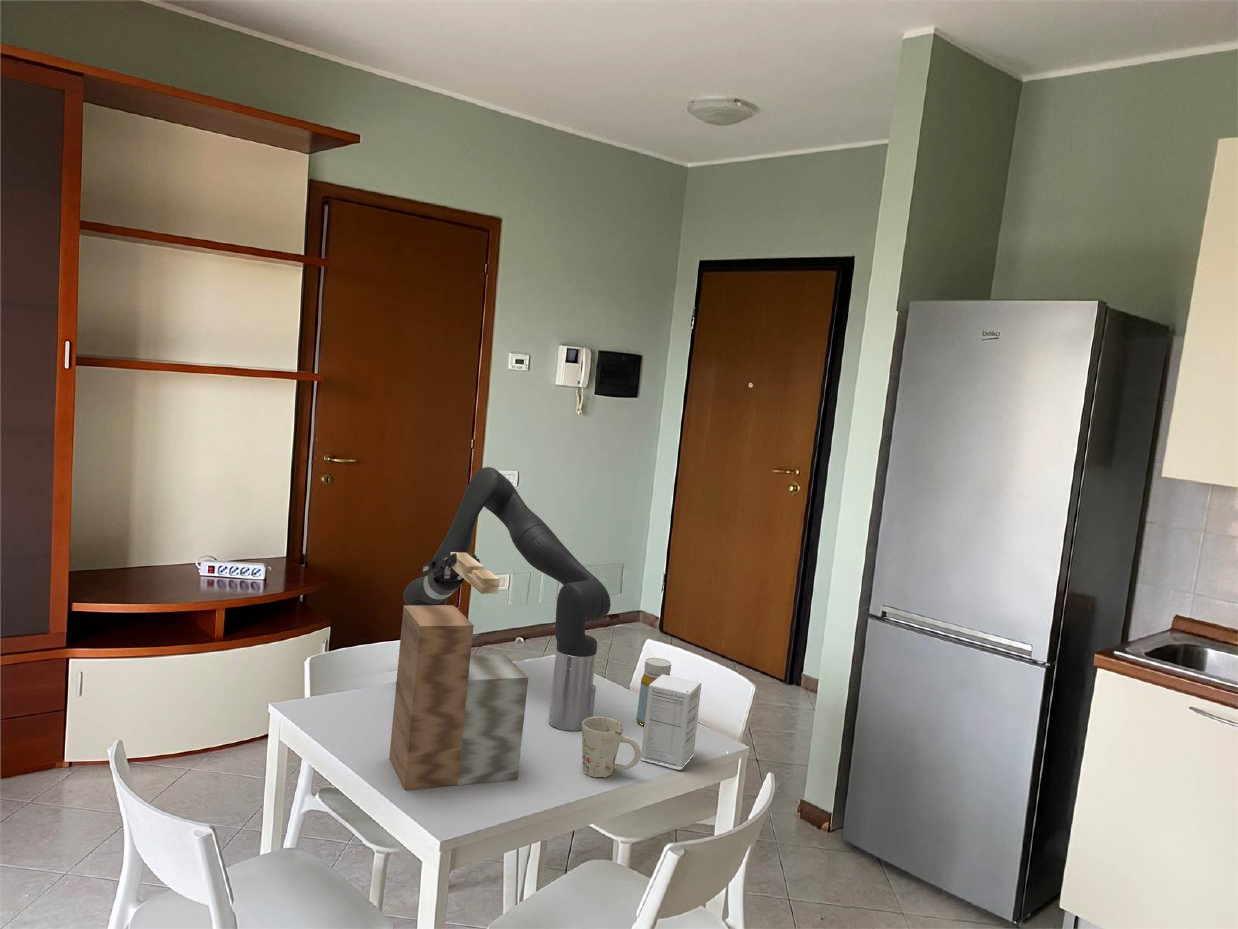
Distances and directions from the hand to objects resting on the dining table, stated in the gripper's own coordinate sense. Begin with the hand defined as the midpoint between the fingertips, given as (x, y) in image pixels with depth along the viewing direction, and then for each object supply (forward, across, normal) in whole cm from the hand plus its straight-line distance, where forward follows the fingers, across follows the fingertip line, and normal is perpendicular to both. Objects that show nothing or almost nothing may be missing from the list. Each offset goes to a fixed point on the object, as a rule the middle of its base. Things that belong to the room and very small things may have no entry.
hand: (464, 557), depth 195 cm
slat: (+5, 0, +6) cm, 8 cm away
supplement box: (+3, +42, +45) cm, 61 cm away
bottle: (-14, +48, +36) cm, 61 cm away
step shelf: (-1, -4, +43) cm, 43 cm away
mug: (+6, +26, +47) cm, 54 cm away
